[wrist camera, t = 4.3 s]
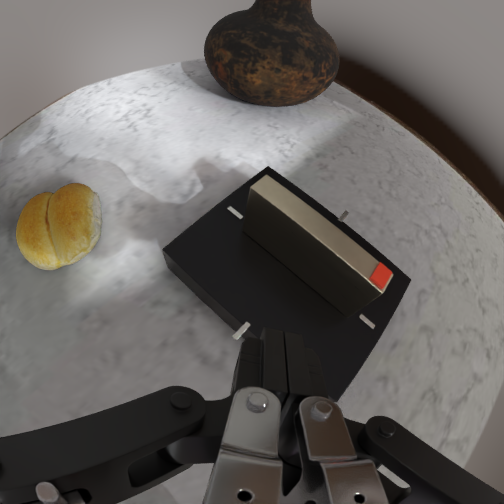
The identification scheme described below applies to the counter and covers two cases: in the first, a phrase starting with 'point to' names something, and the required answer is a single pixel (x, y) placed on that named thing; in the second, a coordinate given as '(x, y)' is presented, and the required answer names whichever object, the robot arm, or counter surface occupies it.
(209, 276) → the black square dial panel
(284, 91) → the brown mottled bulbous container
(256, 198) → the red-tipped beige bar
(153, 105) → the counter surface
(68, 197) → the bread roll
